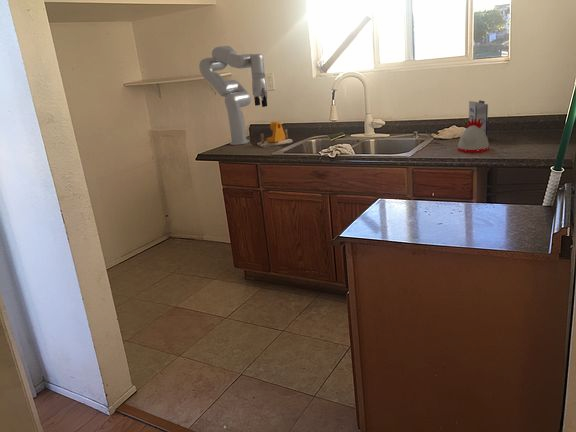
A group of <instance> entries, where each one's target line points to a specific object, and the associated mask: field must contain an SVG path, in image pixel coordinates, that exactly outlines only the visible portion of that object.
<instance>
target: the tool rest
mask: <svg viewBox="0 0 576 432" xmlns="http://www.w3.org/2000/svg"><path fill="white" fill-rule="evenodd" d="M283 131H284V134H285V139H283V141H281V142H278V143H277V142H266V140H265V137H264V132H263V133H260V134H259V135H260V142H257V146H260V147H262V148H268V147H273V146H279V145H284V144H291V143H293V139H292V138H291V139H290V138H289V137H288V129H287V128H285V129H284V128H283Z"/></svg>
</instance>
